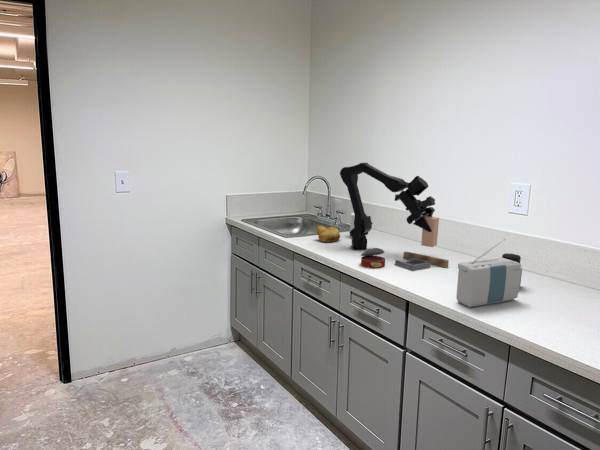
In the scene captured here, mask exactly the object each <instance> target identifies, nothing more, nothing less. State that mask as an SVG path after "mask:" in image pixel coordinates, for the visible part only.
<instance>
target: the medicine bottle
mask: <svg viewBox="0 0 600 450" xmlns="http://www.w3.org/2000/svg"><path fill="white" fill-rule="evenodd" d="M501 258H505V259H509V260H512V261H515V262H518V263H520V264H521V258H522V257H521V256H520V255H519V254H518V253H512V252H511V253H510V252H506V253H503V254H502V255H501ZM522 274H523V267H522V266H521V276H520V285H519V288H520V287H521V284H522V283H521V282H522Z"/></svg>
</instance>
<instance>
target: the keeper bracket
mask: <svg viewBox="0 0 600 450" xmlns="http://www.w3.org/2000/svg"><path fill="white" fill-rule="evenodd" d="M393 264H394V266H397V267H400V268H404V269H406V270H408V271H419V270H423V269H424V270H426V269H430V268H431V266H432V265H431V263H430V262H427V261H424V260H420V259H417V258H414V257H412V258H411V260H408V261H401V260H400V259H399V260H398V259H395V260H394V263H393Z"/></svg>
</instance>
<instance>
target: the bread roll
mask: <svg viewBox="0 0 600 450" xmlns="http://www.w3.org/2000/svg"><path fill="white" fill-rule="evenodd" d="M316 235H317V236H318V240H319V241H320V242H321V243H332V242H333V243H334V242H337V241H338V240H340V239H341V234H340V231H339V229H338V228H336V227H333V226H329V227H327V226H323V225H317V227H316Z"/></svg>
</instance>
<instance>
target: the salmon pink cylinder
mask: <svg viewBox="0 0 600 450" xmlns="http://www.w3.org/2000/svg"><path fill="white" fill-rule="evenodd" d="M425 220H426V222H427V223H428V225H429V226H430V228H431V230H432V231H431V232H428V231H426V230H424V229H423V228H421V229H422V230H421V241H420V242H421V243H420V245H421V246H423V247H429V248H434V247H436V246H438V245H437V244H438V235H439V224H440V222H439V221H440V218H439V217H435V216H434V217H433V216H432V217H425Z"/></svg>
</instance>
